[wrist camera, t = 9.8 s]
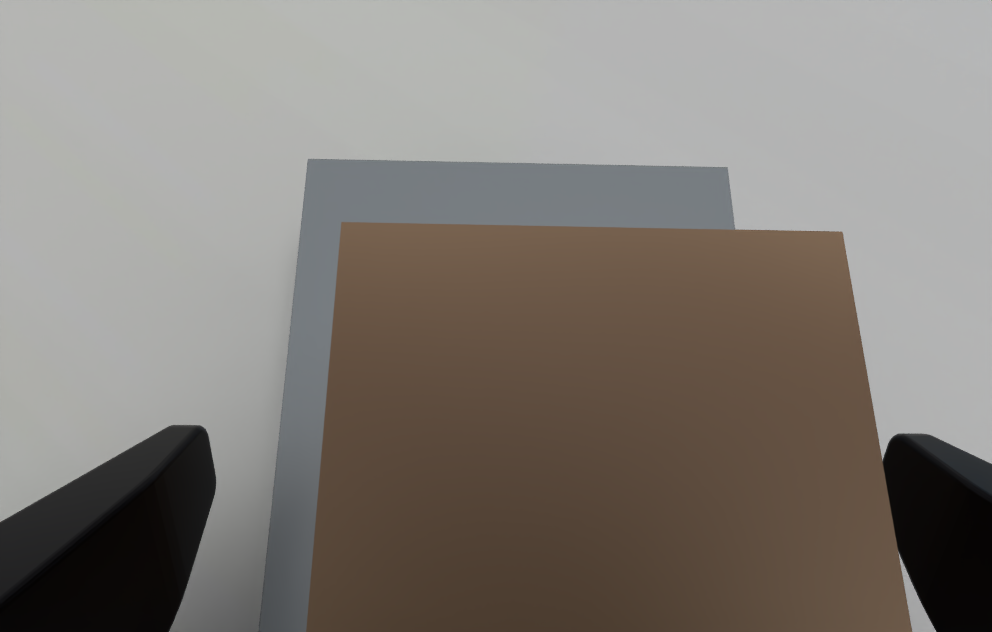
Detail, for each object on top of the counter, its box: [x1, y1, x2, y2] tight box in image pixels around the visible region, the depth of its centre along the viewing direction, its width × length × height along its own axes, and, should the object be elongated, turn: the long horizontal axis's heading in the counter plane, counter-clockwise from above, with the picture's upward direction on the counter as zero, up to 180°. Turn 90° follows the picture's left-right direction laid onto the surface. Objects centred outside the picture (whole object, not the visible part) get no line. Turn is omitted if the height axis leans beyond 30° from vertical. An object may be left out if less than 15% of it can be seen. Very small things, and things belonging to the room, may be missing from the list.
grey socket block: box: [259, 159, 735, 632], centre depth 15 cm, size 16×10×4 cm, turn 0°
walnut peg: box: [306, 222, 912, 632], centre depth 11 cm, size 4×4×12 cm
